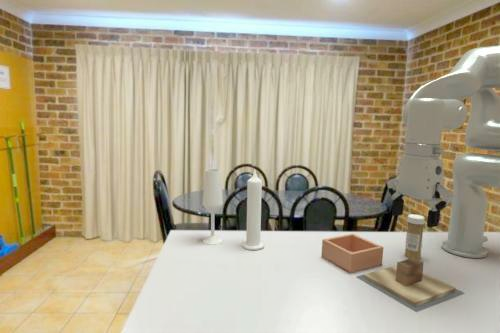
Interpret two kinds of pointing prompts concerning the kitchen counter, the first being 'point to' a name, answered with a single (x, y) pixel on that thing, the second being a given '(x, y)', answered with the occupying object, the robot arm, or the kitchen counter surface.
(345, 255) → the open wooden tray
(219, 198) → the champagne flute
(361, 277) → the mat
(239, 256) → the kitchen counter surface
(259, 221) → the candle
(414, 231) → the sprinkles bottle
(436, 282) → the lid
